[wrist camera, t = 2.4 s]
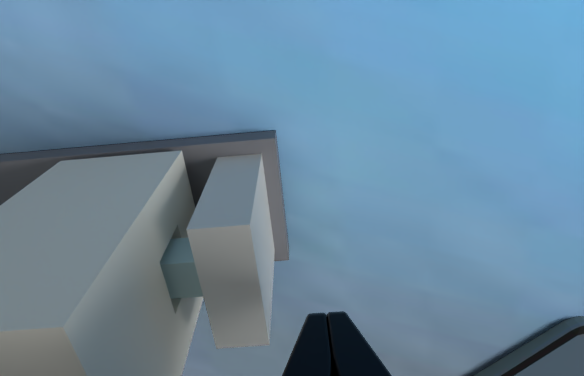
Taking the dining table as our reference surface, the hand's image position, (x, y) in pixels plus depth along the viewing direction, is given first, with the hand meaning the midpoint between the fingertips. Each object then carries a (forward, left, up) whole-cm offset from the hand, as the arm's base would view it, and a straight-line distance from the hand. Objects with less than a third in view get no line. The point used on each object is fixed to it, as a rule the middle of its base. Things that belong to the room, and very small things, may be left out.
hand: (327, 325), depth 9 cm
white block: (0, +6, -5) cm, 8 cm away
